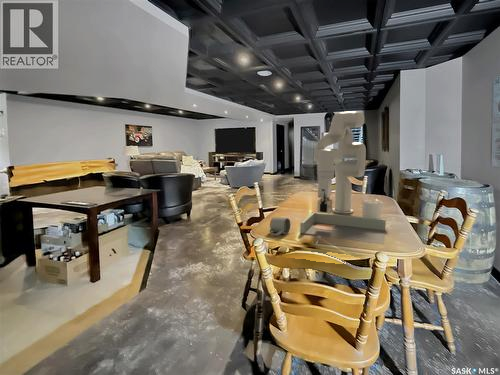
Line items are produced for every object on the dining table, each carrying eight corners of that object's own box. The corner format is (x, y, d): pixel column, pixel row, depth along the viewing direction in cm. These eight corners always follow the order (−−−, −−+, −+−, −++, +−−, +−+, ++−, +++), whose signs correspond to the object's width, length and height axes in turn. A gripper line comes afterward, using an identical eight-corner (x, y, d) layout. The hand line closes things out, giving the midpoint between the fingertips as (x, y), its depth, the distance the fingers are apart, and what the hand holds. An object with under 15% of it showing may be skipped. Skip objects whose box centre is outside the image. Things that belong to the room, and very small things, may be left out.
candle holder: (380, 221, 150) (381, 200, 148) (382, 226, 141) (383, 203, 139) (360, 220, 154) (361, 199, 152) (361, 225, 144) (362, 202, 143)
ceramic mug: (276, 229, 140) (276, 214, 139) (290, 231, 136) (290, 216, 134) (265, 235, 132) (265, 219, 130) (280, 238, 127) (280, 222, 126)
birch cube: (320, 209, 143) (320, 198, 142) (332, 211, 140) (332, 199, 139) (317, 212, 138) (317, 200, 137) (329, 213, 135) (330, 201, 134)
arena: (312, 221, 152) (312, 212, 151) (385, 230, 135) (385, 219, 135) (300, 233, 133) (300, 222, 132) (383, 245, 116) (384, 232, 115)
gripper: (322, 172, 145) (321, 206, 148) (313, 176, 130) (313, 213, 133) (336, 173, 142) (335, 207, 145) (330, 176, 127) (328, 214, 130)
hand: (324, 210), depth 139 cm, fingers closed on birch cube, 6 cm apart
